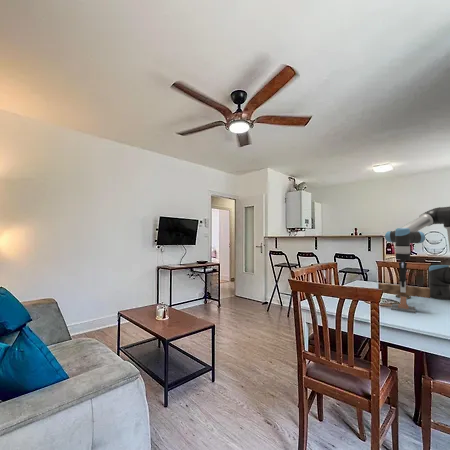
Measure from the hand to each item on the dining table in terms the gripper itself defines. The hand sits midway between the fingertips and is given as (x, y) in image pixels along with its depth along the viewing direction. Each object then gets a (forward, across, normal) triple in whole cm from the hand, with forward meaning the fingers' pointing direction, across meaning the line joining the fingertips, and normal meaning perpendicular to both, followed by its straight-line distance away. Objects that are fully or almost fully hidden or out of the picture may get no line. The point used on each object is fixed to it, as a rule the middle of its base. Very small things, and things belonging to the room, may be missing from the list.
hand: (403, 291), depth 163 cm
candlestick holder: (+11, -36, -1) cm, 37 cm away
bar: (+2, 0, 0) cm, 2 cm away
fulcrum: (+11, 0, 0) cm, 11 cm away
